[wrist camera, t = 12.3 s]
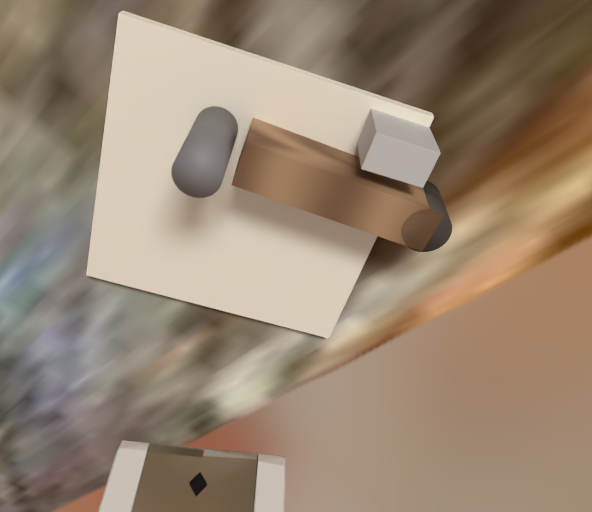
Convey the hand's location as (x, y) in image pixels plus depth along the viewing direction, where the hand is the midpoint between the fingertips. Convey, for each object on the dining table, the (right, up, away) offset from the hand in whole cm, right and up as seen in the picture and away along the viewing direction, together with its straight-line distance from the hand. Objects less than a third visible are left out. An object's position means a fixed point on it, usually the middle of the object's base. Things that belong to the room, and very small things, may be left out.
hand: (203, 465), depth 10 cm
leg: (+5, +9, +27) cm, 29 cm away
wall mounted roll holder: (-2, +8, +29) cm, 31 cm away
